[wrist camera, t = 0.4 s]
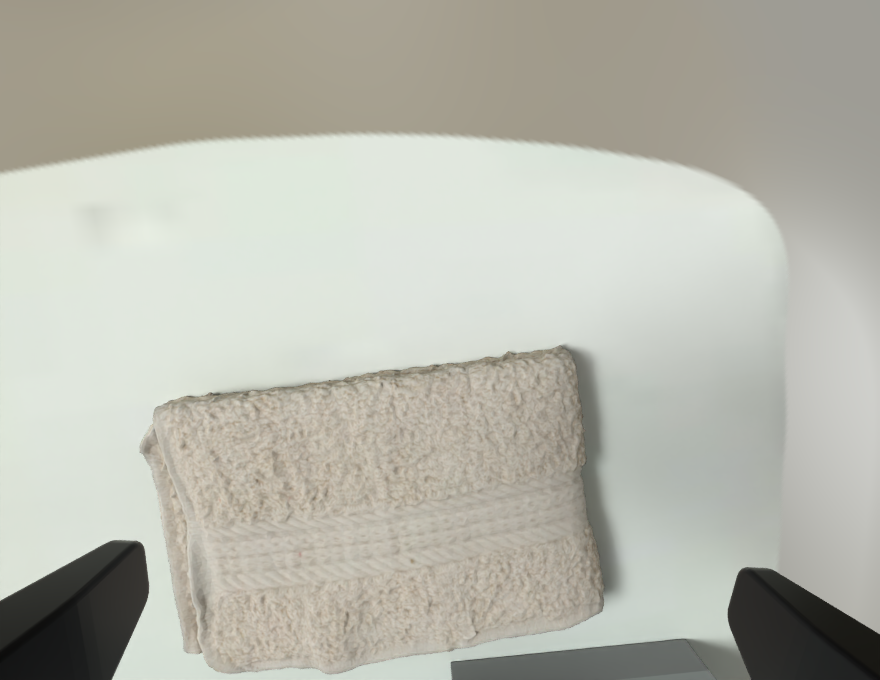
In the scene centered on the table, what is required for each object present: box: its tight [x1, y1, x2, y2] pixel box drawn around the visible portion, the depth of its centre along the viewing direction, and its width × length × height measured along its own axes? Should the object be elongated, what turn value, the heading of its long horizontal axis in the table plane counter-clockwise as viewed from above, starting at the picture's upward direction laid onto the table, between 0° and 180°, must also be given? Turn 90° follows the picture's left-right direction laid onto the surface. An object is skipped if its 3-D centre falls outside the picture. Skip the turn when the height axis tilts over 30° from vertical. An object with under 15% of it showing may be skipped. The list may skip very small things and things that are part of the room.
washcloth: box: [139, 345, 604, 674], centre depth 22 cm, size 12×18×3 cm, turn 98°
